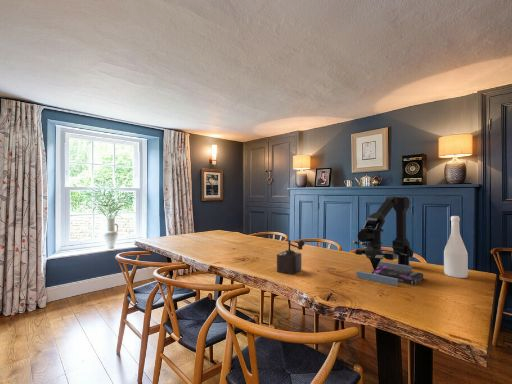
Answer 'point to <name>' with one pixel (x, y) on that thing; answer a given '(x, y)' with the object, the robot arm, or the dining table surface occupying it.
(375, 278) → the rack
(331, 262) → the dining table surface
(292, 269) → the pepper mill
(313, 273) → the dining table surface
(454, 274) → the wine bottle
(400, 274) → the box
